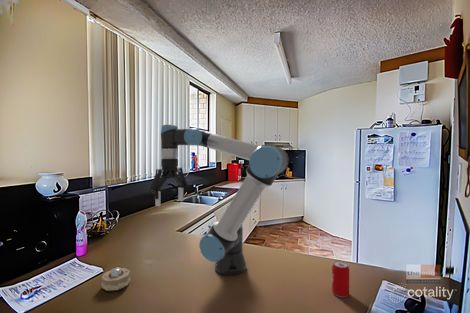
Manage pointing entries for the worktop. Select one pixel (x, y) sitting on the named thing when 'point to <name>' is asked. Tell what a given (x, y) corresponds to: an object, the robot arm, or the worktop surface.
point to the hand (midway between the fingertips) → (170, 203)
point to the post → (116, 274)
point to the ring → (115, 280)
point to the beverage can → (340, 279)
